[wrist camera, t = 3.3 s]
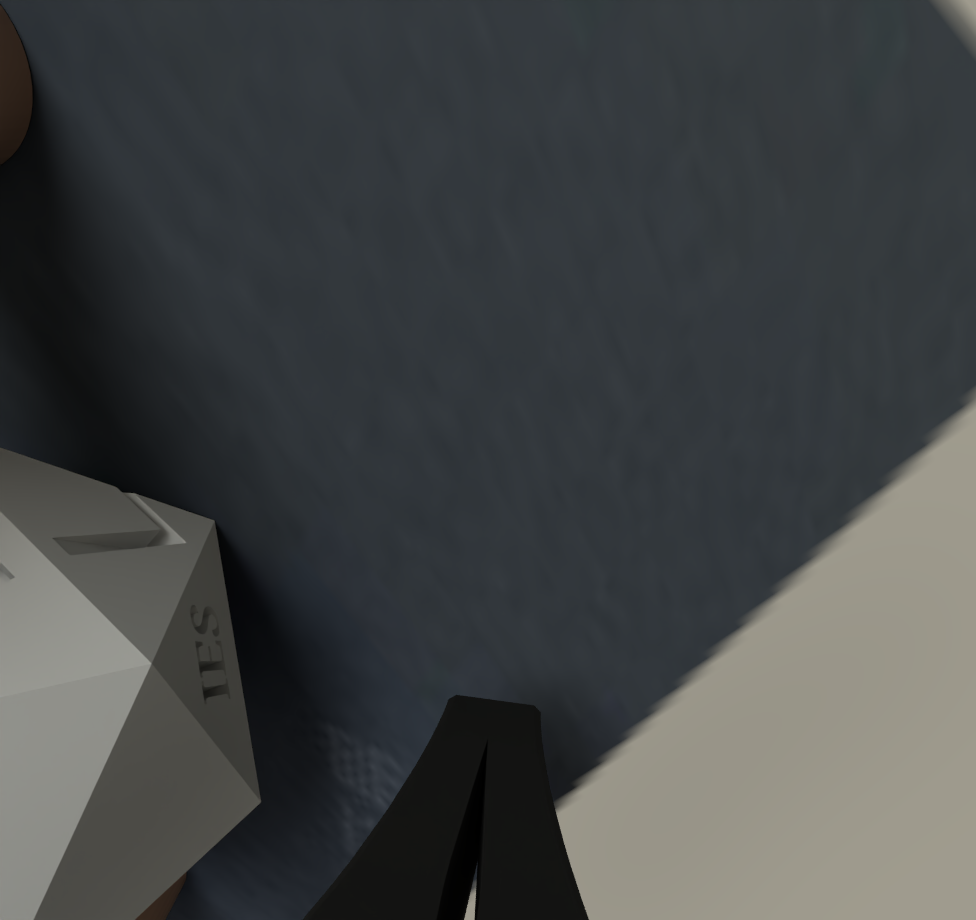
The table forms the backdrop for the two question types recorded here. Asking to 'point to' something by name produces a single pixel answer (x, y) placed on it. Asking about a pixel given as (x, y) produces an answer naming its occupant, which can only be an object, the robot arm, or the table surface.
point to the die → (111, 697)
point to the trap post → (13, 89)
